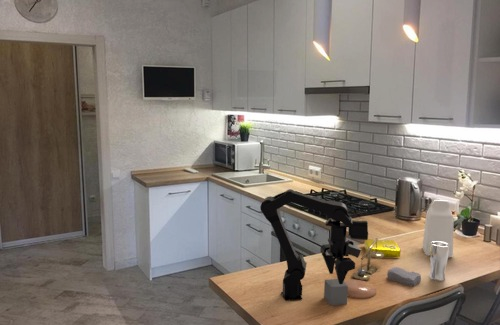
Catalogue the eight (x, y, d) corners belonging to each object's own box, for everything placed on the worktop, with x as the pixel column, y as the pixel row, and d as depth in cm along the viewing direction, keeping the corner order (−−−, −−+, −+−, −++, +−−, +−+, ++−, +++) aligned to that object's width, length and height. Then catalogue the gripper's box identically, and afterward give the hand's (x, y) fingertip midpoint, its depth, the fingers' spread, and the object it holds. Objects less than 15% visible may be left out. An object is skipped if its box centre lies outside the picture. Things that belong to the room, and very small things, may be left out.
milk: (425, 255, 209) (429, 202, 205) (422, 247, 220) (426, 196, 216) (452, 257, 206) (457, 204, 202) (447, 249, 217) (452, 198, 213)
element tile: (394, 248, 219) (394, 239, 218) (400, 259, 204) (401, 249, 204) (363, 246, 221) (364, 237, 220) (368, 257, 206) (368, 247, 205)
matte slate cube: (330, 305, 157) (331, 287, 156) (323, 297, 163) (324, 279, 162) (346, 304, 158) (347, 285, 157) (340, 296, 164) (340, 278, 163)
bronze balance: (366, 282, 177) (367, 253, 175) (349, 278, 181) (351, 249, 179) (385, 264, 197) (387, 237, 195) (370, 260, 201) (371, 234, 199)
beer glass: (424, 276, 184) (427, 242, 182) (437, 274, 186) (440, 240, 184) (436, 282, 178) (439, 247, 175) (449, 280, 180) (452, 245, 178)
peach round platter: (347, 299, 162) (348, 296, 162) (333, 283, 175) (333, 281, 175) (382, 296, 164) (382, 293, 164) (365, 281, 178) (366, 278, 178)
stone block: (395, 276, 188) (384, 278, 181) (398, 265, 188) (387, 267, 181) (422, 286, 180) (412, 288, 173) (424, 274, 180) (414, 276, 173)
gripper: (370, 245, 150) (367, 288, 152) (348, 229, 168) (346, 267, 170) (340, 246, 147) (337, 290, 150) (320, 230, 166) (319, 269, 168)
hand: (335, 278), depth 159 cm, fingers open, 9 cm apart
